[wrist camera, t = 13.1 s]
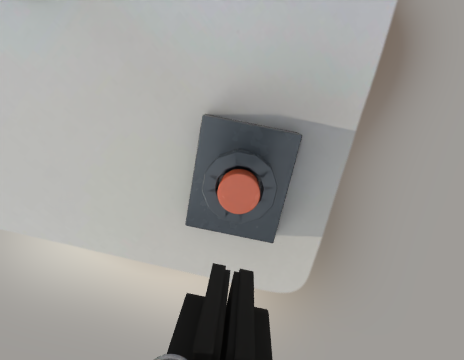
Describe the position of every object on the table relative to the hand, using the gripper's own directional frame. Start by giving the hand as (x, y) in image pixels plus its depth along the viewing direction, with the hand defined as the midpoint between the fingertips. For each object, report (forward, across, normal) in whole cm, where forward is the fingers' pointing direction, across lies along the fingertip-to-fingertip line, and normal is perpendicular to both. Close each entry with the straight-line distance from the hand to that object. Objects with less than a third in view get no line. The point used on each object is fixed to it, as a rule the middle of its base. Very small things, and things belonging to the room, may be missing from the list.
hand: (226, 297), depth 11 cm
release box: (+17, 0, 0) cm, 17 cm away
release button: (+14, 0, 0) cm, 14 cm away
